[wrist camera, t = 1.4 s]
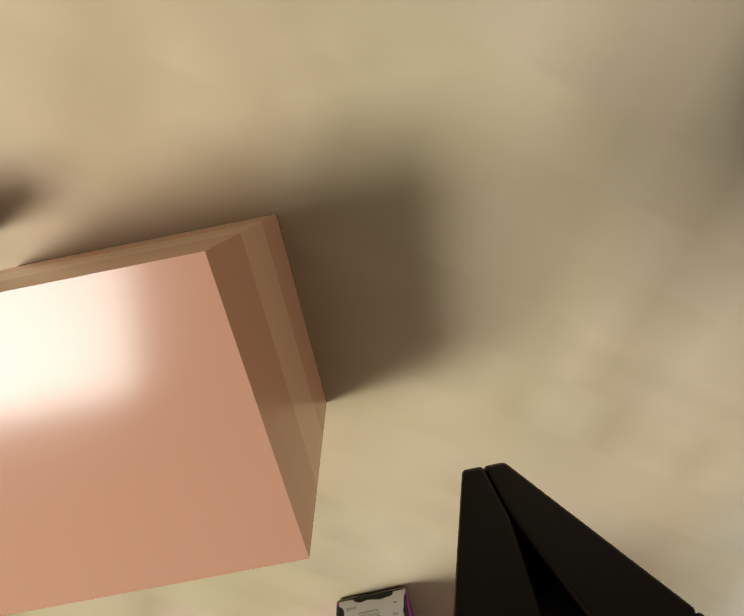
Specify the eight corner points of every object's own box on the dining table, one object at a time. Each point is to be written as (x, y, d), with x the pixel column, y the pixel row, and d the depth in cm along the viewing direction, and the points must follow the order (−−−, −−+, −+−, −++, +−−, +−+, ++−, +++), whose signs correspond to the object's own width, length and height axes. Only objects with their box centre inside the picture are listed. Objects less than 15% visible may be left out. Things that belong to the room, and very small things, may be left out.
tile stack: (276, 213, 17) (204, 251, 9) (326, 400, 21) (309, 558, 12) (19, 265, 18) (-290, 350, 9) (109, 443, 21) (-56, 626, 12)
